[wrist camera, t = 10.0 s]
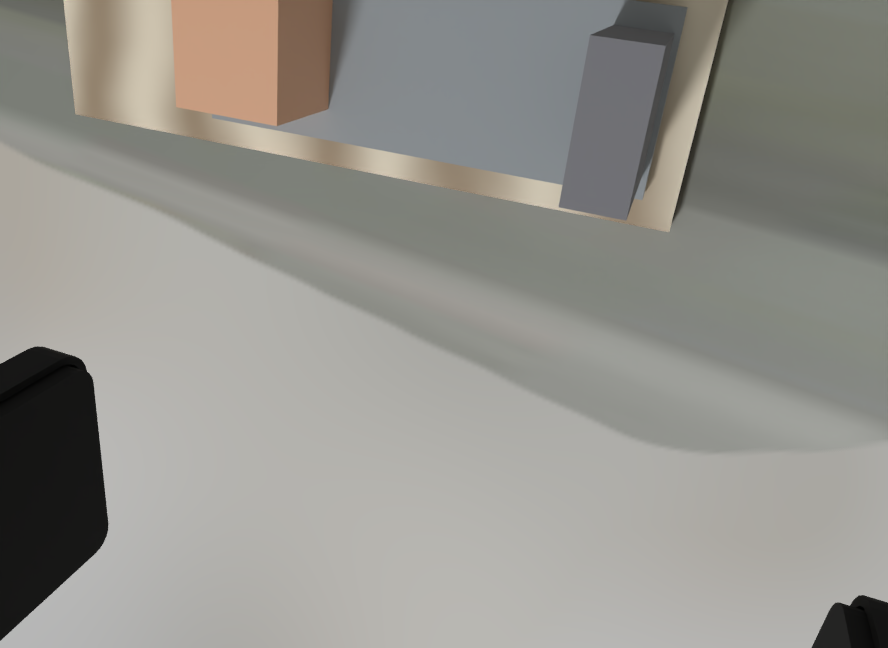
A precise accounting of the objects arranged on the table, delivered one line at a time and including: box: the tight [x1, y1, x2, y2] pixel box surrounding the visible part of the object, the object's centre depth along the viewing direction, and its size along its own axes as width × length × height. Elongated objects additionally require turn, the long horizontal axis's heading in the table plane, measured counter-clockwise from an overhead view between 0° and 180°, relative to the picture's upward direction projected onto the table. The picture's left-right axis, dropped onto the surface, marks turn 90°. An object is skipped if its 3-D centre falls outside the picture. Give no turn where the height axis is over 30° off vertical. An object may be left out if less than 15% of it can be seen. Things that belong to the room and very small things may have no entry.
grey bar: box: [212, 0, 688, 221], centre depth 32 cm, size 22×8×8 cm, turn 84°
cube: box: [171, 0, 333, 126], centre depth 34 cm, size 5×5×5 cm
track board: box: [64, 0, 728, 232], centre depth 37 cm, size 33×11×1 cm, turn 84°
